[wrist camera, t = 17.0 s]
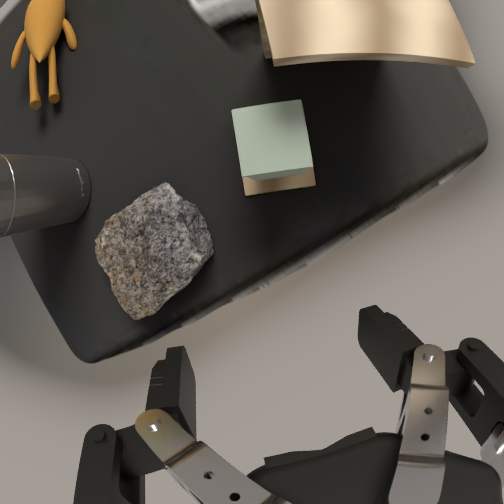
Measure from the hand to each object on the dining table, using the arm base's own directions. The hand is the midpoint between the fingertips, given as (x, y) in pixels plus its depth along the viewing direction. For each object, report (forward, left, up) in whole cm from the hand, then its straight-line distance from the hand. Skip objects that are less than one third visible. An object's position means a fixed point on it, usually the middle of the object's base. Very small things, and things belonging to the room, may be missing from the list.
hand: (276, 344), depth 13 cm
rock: (-15, +2, -23) cm, 27 cm away
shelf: (+10, +20, -22) cm, 31 cm away
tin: (+1, +11, -22) cm, 24 cm away
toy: (-31, +42, -23) cm, 57 cm away
